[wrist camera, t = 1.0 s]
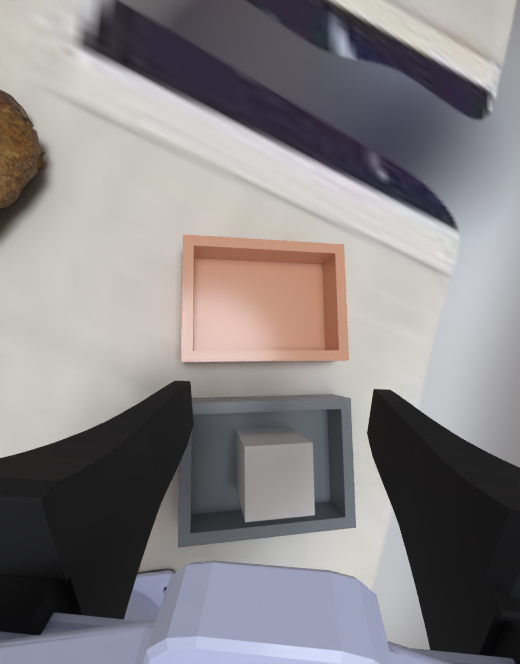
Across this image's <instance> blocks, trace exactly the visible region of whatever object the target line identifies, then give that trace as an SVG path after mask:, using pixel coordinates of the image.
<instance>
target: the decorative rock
mask: <svg viewBox="0 0 520 664" xmlns="http://www.w3.org/2000/svg"><path fill="white" fill-rule="evenodd" d="M32 127H33V125H32V123H31V121H30V120H29V118H28V116H27V114H26V112H25V110H24V109H23V107H22V106H21V105H20V104H19V103H18V102H17V101H16V100H15V99H14V98H13V97H12V96H11V95H9V94H7V93H6V92H4V91H2V90H0V209H1V208H5V207H8V206H9V205H10V204H12V203H13V202H14V201H16V200H17V199H18V197H19V195H20V193H21V191H22V189H23V188H24V187H25V185H26V184H27V183H28V182H29V181H30V180H31V179H32V178H33V177H34V176H35V175H36V174H37V173H38V172H37V169H39V168H41V167H43V166H44V162H43V159H42V156H43V155H44V154H45V153H44V152H43V151H42V150H41V149H40V147H39V146H38V136H37V131H36V130H34V129H32Z"/></svg>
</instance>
